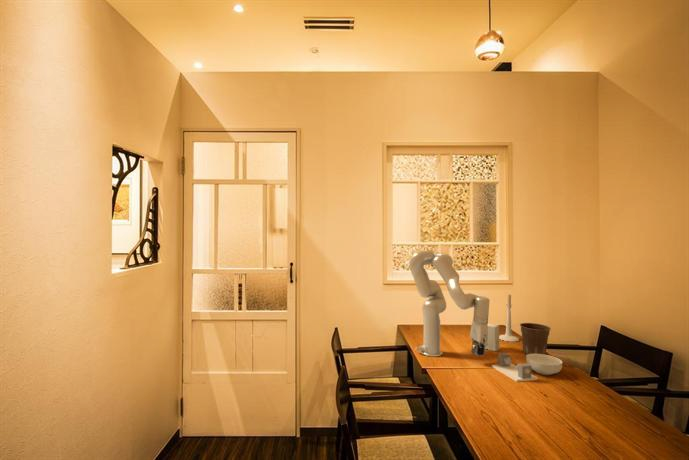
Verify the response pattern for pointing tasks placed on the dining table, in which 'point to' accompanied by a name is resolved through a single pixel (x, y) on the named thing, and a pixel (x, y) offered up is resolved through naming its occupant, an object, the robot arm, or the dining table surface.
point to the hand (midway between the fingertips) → (477, 352)
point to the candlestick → (508, 325)
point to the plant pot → (534, 338)
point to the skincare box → (493, 337)
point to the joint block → (476, 348)
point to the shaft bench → (513, 369)
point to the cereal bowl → (544, 363)
